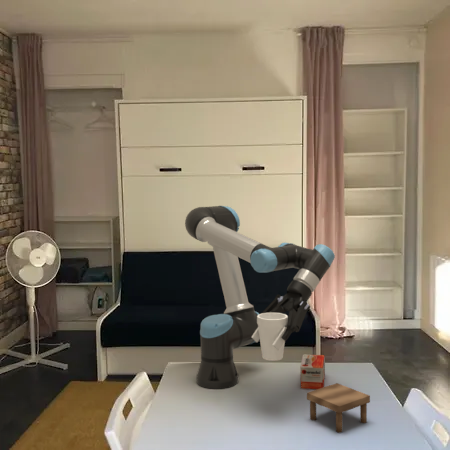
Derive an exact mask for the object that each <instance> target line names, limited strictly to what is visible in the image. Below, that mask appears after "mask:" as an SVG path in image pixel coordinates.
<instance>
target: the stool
mask: <svg viewBox="0 0 450 450" xmlns="http://www.w3.org/2000/svg"><path fill="white" fill-rule="evenodd" d="M306 400H308V401H309V416H310V417H309V419H310V420H311V421H316V420H317V405H319V406H322V407H324V408H326V409H329V410H331V411H333V412H335V432H336V433H343V413H344V412H347V411H349V410H352V409H355V408H358V407H359V409H360V412H359V413H360V415H359V416H360V417H359V419H360V423H362V424H366V423H367V422H368V421H367V420H368V419H367V411H368V408H367V404H369V403H370V402H371V395H370V394H366V393H364V392H362V391H359V390H356V389H354V388H350V387H348V386H347V385H343V384H341V383H337V382H336V383H334V384H330V385H327V386H324V387H323V388H320V389H313V390H311V391H308V392H306Z"/></svg>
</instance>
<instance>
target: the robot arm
mask: <svg viewBox="0 0 450 450" xmlns="http://www.w3.org/2000/svg"><path fill="white" fill-rule="evenodd" d="M184 225H185V226H184V227H185V231H186V232H187V234H188V235H189V236H190V237H192V238H193V239H195V240H197V241H199V242H200V243H201V242H202V243H206V242H207V244H208V245H209V246H210V247H212V250H213V255H214V259H215V263H216V267H217V271H218V276H219V281H220V285H221V289H222V293H223V296H224V297H223V298H224V302H225V307H226V309H225V310H224V311H223V313H218V314H212V315H208V316H206V317H205V318H204V319H202V321H201V322H200V330H199V335H200V337H199V339H200V363H199V367H198V371H197V373H196V384H197V385H198V386H200V387H202V388H205V389H206V388H207V389H214V390H215V389H216V390H217V389H218V390H219V389H225V388H226V389H227V388H231V387H234V386H236V385H237V384H238V383H239V373H238V370H237V368H236V364H235V361H234V350H235V349H238V348H241V347H244V346H247V345H252V344H254V343H258V342H260V337H259V329H258V324H257V316H258V315H259V314H260V313H259V312H257V311H255V307H254V304H251V303H250V302H249V299H248V295H247V289H246V285H245V282H244V278H243V273H242V269H241V265H240V261H239V258H240V260H241V259H242V260H244V261H246V262H248V263H250V266H251V267H252V268H253V270H254V271H255V272H256V273H265V274H266V273H271V272H274V271H275V272H277V271H281V270H286V269H292V268H294V269H297V270H298V271H297V273H296V274H295V275H294V277H293V280H292V281H291V282H290V283H289V284H288V286H287V289H286V293H285V294H284V295H282V296H281V295H280V293H279V294H276V295H275V298H274V299H273V301H271V302H270V304H268V306H266V308H264V310H263V311H262V312H261V313H282V314H283V313H286V312H288V315H287V316H288V322H287V325H285V327H286V328H285V327H284V328H283V329H282V331H281V332H280V334H279V335H278V337H277V338H276V340H275V341H274V343H273V344H272V345H273V346H274V347H275V348H276V349H277V350H279V349H280V348H281V346H282V345H283V343H284V342H285V343H286V341H287V340H288V339H289V338H290V336H291V334H292V333H294V332H296V333H299V332H300V329H301V328H302V325H303V322H304V320H305V317H306V315H307V312H308V310H310V308H311V306H310V304H309V303H308V301H309V299H310V298H311V296H312V294H313V292H315V290H316V288H317V287H318V285H319V284H320V282H321V280H322V279H323V277H324V276H325V274H326V273H327V272H328V270H329V269H330V268H331V266H332V263H333V262H334V261H335V259H336V258H335V256H336V255H335V253H334V251H333V250H332V249H331V248H330V247H328V246H327V245H325V244H321V243H320V244H316V245H315V246H314V247H313V248H312V249H311V248H306V247H303V246H300V245H297V244H295V243H289V242H282V243H280V244H279V245H278V246H276V247H270V246H268V245H266V244H263V243H262V242H259V241H257V240H255V239H253V238H251V237H248V236H247V235H244V234H242V233H240V232H238V231H239V229H240V225H241V221H240V217H239V215H238V212H237V211H236V210H235V209H233V208H232V207H230V206H228V205H227V206H226V205H225V206H224V205H215V206H199V207H198V206H197V207H195V208H193V209H191V210H190V211H189V213H188V214H187V215H186V216H185V223H184Z"/></svg>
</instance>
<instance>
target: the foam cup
mask: <svg viewBox="0 0 450 450" xmlns="http://www.w3.org/2000/svg"><path fill="white" fill-rule="evenodd" d="M288 316H289V315H287V314H286V313H283V312H282V313H262V312H261V313H259V315H258V316H257V324H258V329H259V337H260V340H259V342H260V343H259V344H260V349H261V356H262V359H263V360H266V361H275V362H277V361H281V360H283V357H284V351H285V345H286V344H285V343H286V341H285V342H284V343H283V345H282V346H281V348H280V349H279V350H277V349H276V348H275V347H274V346H273V345H272V344H273V343H274V341H275V340H276V338H277V337H278V335H279V334H280V332H281V331H282V329H283V328H284V327H285V325H287V322H288ZM285 328H286V327H285ZM286 329H287V328H286Z"/></svg>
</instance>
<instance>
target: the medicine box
mask: <svg viewBox="0 0 450 450" xmlns="http://www.w3.org/2000/svg"><path fill="white" fill-rule="evenodd" d="M325 356H326V355H323V354H302V357H301V361H300V368H299V371H300V389H303V390H305V389H306V390H317V389H320V388H323V387H325V377H326V376H325V375H326V362H325V361H326V360H325V359H326V358H325Z"/></svg>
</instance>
